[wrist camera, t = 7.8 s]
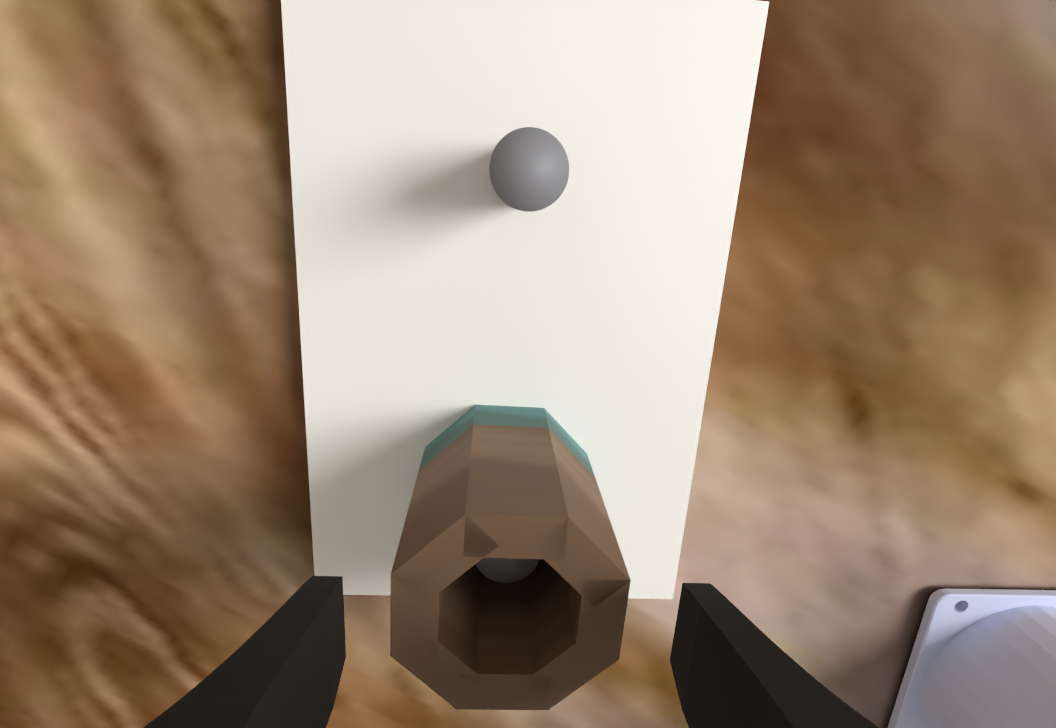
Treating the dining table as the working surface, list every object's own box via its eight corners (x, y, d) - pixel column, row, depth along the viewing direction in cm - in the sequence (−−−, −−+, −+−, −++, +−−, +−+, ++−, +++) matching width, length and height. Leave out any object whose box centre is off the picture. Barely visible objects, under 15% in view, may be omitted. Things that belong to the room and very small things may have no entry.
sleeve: (591, 410, 17) (639, 519, 12) (575, 550, 19) (611, 710, 13) (425, 401, 17) (390, 511, 11) (422, 546, 18) (390, 708, 13)
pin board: (752, 13, 15) (869, -66, 10) (664, 579, 21) (715, 698, 16) (293, -27, 14) (192, -134, 10) (324, 574, 20) (269, 698, 15)
